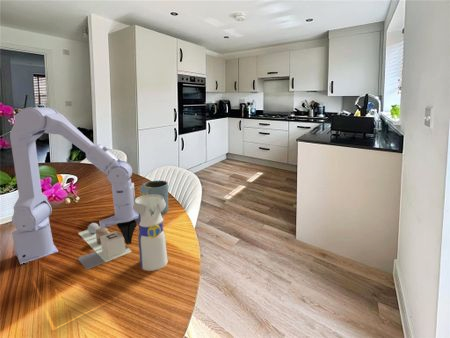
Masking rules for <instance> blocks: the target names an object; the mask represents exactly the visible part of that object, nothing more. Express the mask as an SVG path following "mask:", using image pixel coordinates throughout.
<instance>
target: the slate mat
mask: <svg viewBox="0 0 450 338" xmlns="http://www.w3.org/2000/svg"><path fill="white" fill-rule="evenodd" d="M77 260H78V261H79V262H80V264H82V266H83V267H84V269H86V271H88V270H90V269H92V268H95V267H98V266H100V265H103V264H105V263H106V262H105V261H104V260H103V259H102V258H101V257H100V256H99V255H98V254H97V253H96V252H95V251H94V252H90V253H88V254H84V255H82V256H79V257H77Z"/></svg>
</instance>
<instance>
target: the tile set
mask: <svg viewBox="0 0 450 338" xmlns="http://www.w3.org/2000/svg"><path fill="white" fill-rule="evenodd" d="M98 226H99V229H100V225H98ZM77 233H78V235H79V236H80V237H81V238H82V239H83V240H84V241H85V242H86V243H87V244H88V246H90V248H91V249H92V250H93V251H94V252H96V253H97V254H98V255H99V256H100V257H101V258H102V259H103V260H104V261H105V263H108V262H110V261H112V260H116V259H118V258H120V257H122V256H123V257H124V256H126V255H127V254H130V253H132V252H133V250H131V249H130V248H129V247H128V246H126V245H125V252H123V253H120V254H118V255H115V256H113V257H110V258H108V257H107V256H106V255H105V254H104V253H103V252H102V246H101V244H97V238H96V233H90V232H89V231H88V229H85V230H83V231H79V232H77ZM109 233H111V232H110V231H109V230H108V234H109Z"/></svg>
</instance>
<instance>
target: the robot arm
mask: <svg viewBox="0 0 450 338" xmlns="http://www.w3.org/2000/svg"><path fill="white" fill-rule="evenodd" d="M44 134H50V135H51V134H52V135H59V136H61V137H63V138H64V139H66V140H67V141H68V142H70V143H71V144H73V145H74V146H75V147H77V148H79V150H81V151H82V152H83V153H85V157H86V161H88V162H90V163H91V164H92V165H93V166H95V167H96V168H97V169H98V170H99V171H101V172H102V173H104V174H105V175H107V176H106V178H107V179H106V180H107V181H108V182H109V183H110V184H111V192H112V193H111V194H112V202H113V209H114V215H112V216H109V217H108V218H105V219H102V220H99V222H98V223H99V226H100V228H101V229H104V228H107V227H112V226H115V225H116V226H117V228H118V229H119V231H120V232H121V233H120V234H121V235H122V236H124V244H126V245H128V246H129V245H131V244H132V242H133V241H132V240H133V236H134V232H135V229H136V227H137V225H138V224H137V220H138V217H139V214H138V213H137V212H135V211H134V209H133V205H134V199H133V189H132V183H133V182H132V178H131V177H132V176H133V171H134V170H133V167H132V165H131V164H130V163H129V162H128V161H125V160H123V159H121V157H119V158H118V157H117V156H116V155H115V154H113V152H111V151H110V148H109V147H108V146H107V145H105V146H104V145H102V144H95V143H94V142H92V140H90V139H89V138H88V137H87V136H86V135H84V134H83V132H82V131H80V130H79V129H78V128H77V127H75V126H74V124H72V122H70V121H69V119H67V118H66V116H65V115H63V114H62V113H59V112H58V110H57V109H55V108H54V107H51V106H42V107H24V108H22V110H20V111H18V112H17V113H16V114H15V115H14V123H13V125H12V128H11V130H10V134H9V138H10V145H11V152H12V158H13V164H14V165H13V166H14V171H15V177H16V179H15V180H16V184H17V185H16V186H17V191H18V198H17V200H16V202H15V203H14V206H13V214H12V217H11V223H12V225H13V226H14V228H15V229H16V230H14V231H11V236H12V240H13V244H14V249H15V250H14V254H15V257H17V259H18V262H19V264H20V265H21V264H22V265H24V264H23V263H25V264H27V263H29V261H30V262H32V261H35V260H39V259H42V258H44V257H47V256H49V255H53V254H56V253H58V252H59V250H58V248H57V247H56V245H55V244H54V241H53V240H54V239H53V235H52V229H51V224H50V216H51V214H52V212H53V208H52V206H51V203H50V202H49V200H48V196H47V195H46V194H44V193H42V191H43V190H42V185H41V184H42V183H41V176H40V169H39V168H40V166H39V160H38V153H37V152H38V151H37V144H36V143H37V142H36V141H37V139H39V138H40V137H41V136H42V135H44Z"/></svg>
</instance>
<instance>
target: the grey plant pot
mask: <svg viewBox="0 0 450 338" xmlns="http://www.w3.org/2000/svg"><path fill="white" fill-rule="evenodd" d="M143 183H144V185H145V187H151V188H150V189H149V190H148V191H147V192H148V195H150V194H156V195H161V196H162V197H163V198H164V200H165V203H166V207H165V209H164V210H163V211H162V212H161V215H162V216H163V215H165V214H167V213H168V212H169V182H168V181H166V180H152V181H151V180H150V181H146V182H143ZM144 195H146V194H143V196H144Z"/></svg>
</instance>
